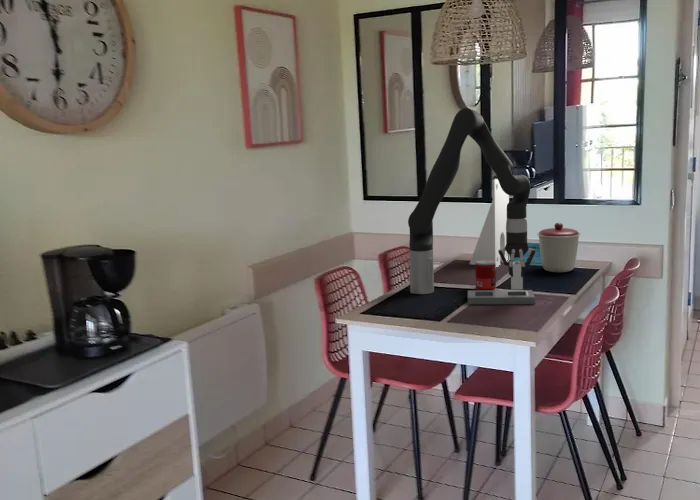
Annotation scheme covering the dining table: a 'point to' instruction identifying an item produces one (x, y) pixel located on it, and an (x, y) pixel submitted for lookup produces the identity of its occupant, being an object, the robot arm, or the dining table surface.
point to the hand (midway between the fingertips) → (516, 276)
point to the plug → (516, 276)
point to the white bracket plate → (493, 229)
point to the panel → (501, 297)
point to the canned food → (485, 274)
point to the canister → (558, 248)
